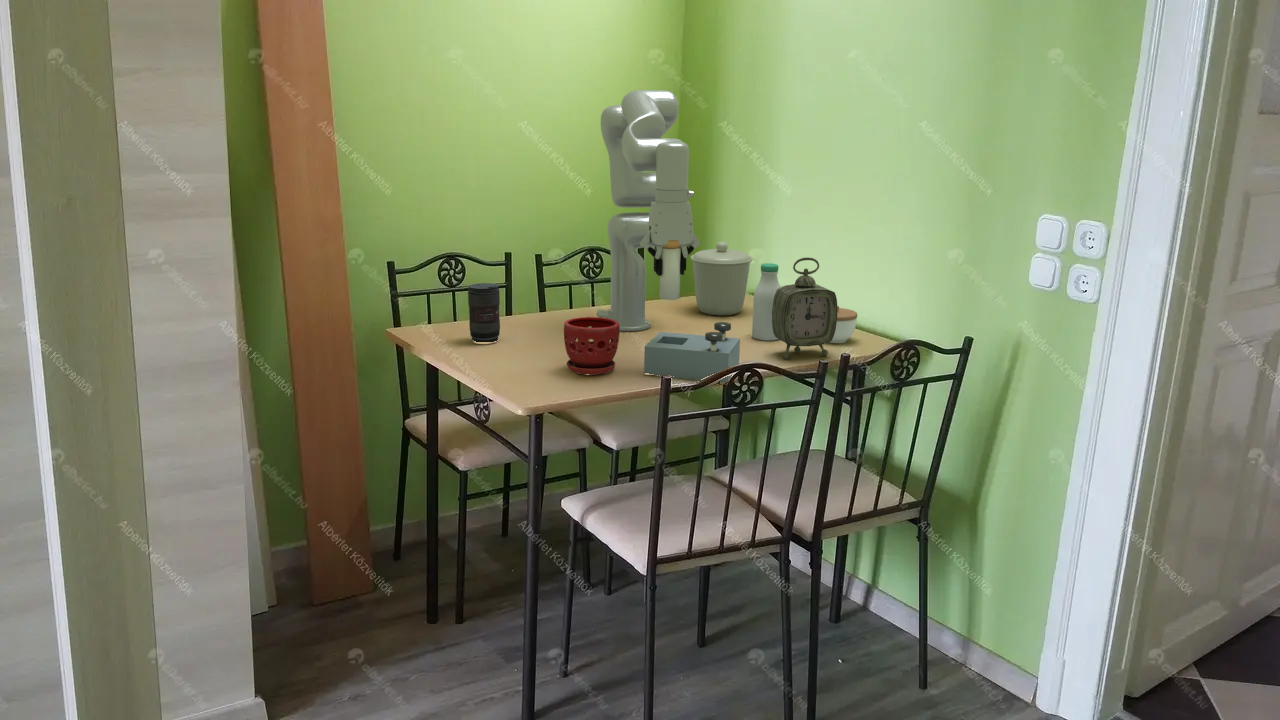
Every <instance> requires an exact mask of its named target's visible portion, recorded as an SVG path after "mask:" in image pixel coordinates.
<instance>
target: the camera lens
mask: <svg viewBox="0 0 1280 720" xmlns="http://www.w3.org/2000/svg"><path fill="white" fill-rule="evenodd" d="M499 288H500V287H499V285H498V284H496V283H490V282H488V283H486V282H484V283H483V282H481V283H473V284H470V285H469V284H468V289H467V301H468V316H469V319H468V320H469V333H470V337H471V341H472V340H474V341H476V342H494V341H497V340H498V341H499V336H500V330H501V320H500V299H501V298H500V289H499ZM498 341H497V342H498Z"/></svg>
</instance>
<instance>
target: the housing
mask: <svg viewBox="0 0 1280 720" xmlns="http://www.w3.org/2000/svg"><path fill="white" fill-rule="evenodd" d="M740 346H741V338H738V337H728V336H726V339H725V341H723V340H721V341H717V351H710V341H707V340H705V335H704V334H702V335H701V334H693V333H691V334H690V333H680V332H679V333H678V332H667V331H660V332H658V333H657V334H656V335H655V336H654V337H653V338H652V339H651V340H649V341H648V342H647V343H646V344H645V345H644V351H643V352H644V361H643V365H644V366H643V367H644V368H643V370H644V373H649V374H654V375H658V376H657V377H662V375H670V376H672V377H671V378H672V379H673V376H674V377H678V378H677V379H684V380H685V379H686V380H695V381H702V380H701V379H703V378H705V377H707V376H710V375H712V374H715V373H717V372H719V371H721V370H724V369H726V368H728V367H731V366H734V365H738V364H739V365H740V349H741V348H740ZM644 373H643V374H644ZM659 375H660V376H659ZM730 377H731V376H727V377H725V378H723V379H722V380H720V382H719V383H725V384H726V383H727V381H728V380H729V378H730ZM731 378H732V377H731ZM729 381H730V380H729Z"/></svg>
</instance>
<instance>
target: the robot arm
mask: <svg viewBox="0 0 1280 720" xmlns="http://www.w3.org/2000/svg"><path fill="white" fill-rule="evenodd" d="M679 106H680V105H679V101H678V98H677V97H676V95H675V93H673V92H672V91H670V90H666V89H663V90H662V89H636V90H632V91H630V92H628V93H626V94H625V95H624V96H623V98H622V100H621V104H615V105H610V106H607V107H606V108H604V109H603V110H602V113H601V116H600V131H601V136H602V140H603V142H604V143H603V144H605V145H604V146H605V148H606V151H607V155H608V160H609V161H608V162H609V177H610V178H609V180H610V192H611V193H610V195H611V200H612V203H613V204H614V205H615V206H616V207H618V208H625V209H626V208H627V209H628V208H633V209H635V208H636V209H637V208H639V209H640V208H649V211H648V212H622V213H617V214H614V215H613V216H611V217H610V218H609V220H608V222H607V235H608V236H607V237H608V241H609V250H610V308H608V310H605V309H597V311H596V317H600V318H608V319H612V320H615V321H617V322H619V324H620V329H619V332H636V331H637V332H639V331H644V330H647V329H649V328H651V321H650V320H649V319H646V263H645V260H644V258H643V257H642V256H641V255H640V254H639V252H638V251H637V249H642V248H643V249H645V250H646V251H647V252H648V253H649V254H650V255H651V256H652V257H653V272H655V274H656V275H657V276H659V277H660V276H661V275H662V259H661V252H662V248H663V246H666V245H667V242H668V241H678V240H679V245H680V246H681V258H680V276H685V271H687V258H689V256H690V254H691V253H692V252H693V251H694V250H695V249H696V248H697V247H699V246H700V245H701V244H702V242H701V240H700V238H699V237H698V236H697V234H696V233H695V232H694V222H693V220H694V219H693V212H692V206H691V202H690V201H689V200H690V198H694V196H695V192H694V191H693V190H690V189H689V166H690V165H689V164H690V163H689V162H690V149H689V145H688V144H687V143H686V142H683V141H682V140H681V139H680V138H679V139H678V138H675V137H674V138H668V137H667V138H663V136H665V134H666V133H667V132H668V131H669V130H671V128H672V127H673V125H674V124H675V123H676V121H677V119H678V117H679V112H680V110H679V109H680V108H679ZM661 137H662V138H661Z"/></svg>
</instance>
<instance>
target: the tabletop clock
mask: <svg viewBox="0 0 1280 720" xmlns="http://www.w3.org/2000/svg"><path fill="white" fill-rule="evenodd" d="M804 261H812V262H814V263H815V264H816V265H817V267H816V268H815V269H813V270H811V271H810V270H809V269H808V268H804V269H803V271H800V270H797V269H796V265H797V264H799V263H800V262H804ZM792 269H793V271H794V272H795V273H796V274H798V275H799V276H798V277H797V278H796V279H795V282H794V283H792V284H786V285H783V286H780V288H778V289H777V291H776V293H775V296H774V300H773V308H772V328H773V333H774V335H775V337H777V338H778V340H780V341H782V342H783V343H785V344H786V348H785V352H784V353H783V354H782V357H783V359H784V360H786V359H789V358H790V354H789V350H790V348H791V347H794V349H793V351H794V352H795V353H796V354H799V353H800V352H801V347H813V346H819V347H820V349H821V355H822V356H823V357H825V356H826V357H827V356H828V354H829V351H828V350H827V349H825V348H824V345H825V344H828V343H829V342H830V341H832V339H833V336H834V334H835V330H836V323H837V306H838V299H837V294H836V292H835V291H833V290H831V289H828V288H826V287H825V286H821V285H819V284H816V280H815V279H814V277H812V276H811V275H812V274H814V273H816V272H817V271H818V270H819V269H820V262H819V261H818V260H817V259H816V258H813V257H802V258H799V259H797V260H796V261H795V262H793V266H792Z"/></svg>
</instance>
